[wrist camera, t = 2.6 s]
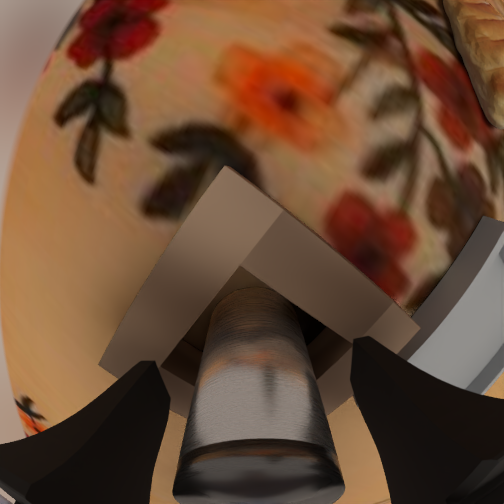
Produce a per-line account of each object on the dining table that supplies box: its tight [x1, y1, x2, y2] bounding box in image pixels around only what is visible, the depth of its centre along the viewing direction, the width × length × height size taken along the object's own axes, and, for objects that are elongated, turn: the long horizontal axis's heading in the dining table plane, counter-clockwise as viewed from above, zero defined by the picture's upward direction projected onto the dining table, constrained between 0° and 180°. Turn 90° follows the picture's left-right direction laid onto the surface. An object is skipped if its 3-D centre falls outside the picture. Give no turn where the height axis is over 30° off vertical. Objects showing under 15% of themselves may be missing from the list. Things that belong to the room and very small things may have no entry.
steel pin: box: [172, 287, 345, 504], centre depth 8 cm, size 4×4×8 cm
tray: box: [353, 216, 504, 407], centre depth 12 cm, size 12×11×2 cm
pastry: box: [443, 0, 504, 129], centre depth 7 cm, size 9×7×4 cm
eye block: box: [98, 166, 420, 419], centre depth 11 cm, size 10×10×2 cm
